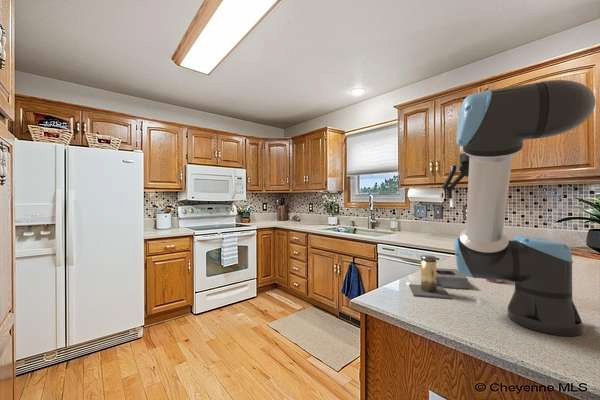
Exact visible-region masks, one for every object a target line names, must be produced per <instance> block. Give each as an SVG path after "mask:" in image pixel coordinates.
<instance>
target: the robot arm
mask: <svg viewBox="0 0 600 400" xmlns="http://www.w3.org/2000/svg"><path fill="white" fill-rule="evenodd" d="M595 107H596V97H595V94H594V92H593V91H592V90H591V88H590V87H589V86H587V85H585V84H583V83H581V82H577V81H573V80H568V79H567V80H566V79H554V80H553V79H551V80H543V81H539V82H534V83H528V84H519V85H514V86H507V87H501V88H494V89H487V90H485V91H481V92H476V93H471V94H469V95H467V96H466V97H465V98H464V99H463V101H462V103H461V106H460V111H459V115H458V119H457V125H456V126H457V127H456V136H455V137H456V139H455V141H456V144H457V146H459V153H460V154H459V165H455V164H454V165H451V166H450V172H449V173H448V176H447V178H446V179H445V180H444V183H443V184H442V190H446V191H447V199H448V200H449V205H450V208H455V207H456V206H455V190H453V189H454V188H455V187H456V186H457V185H458V184H459V183H460V182H461V181H462V180H463V178H464V177H466V178H467V179H468V180H467V181H468V183H467V199H466V201H467V203H466V204H467V205H466V219H465V220H466V221H465V222H466V223H465V228H464V229H463V230H462V231H461V232H460V234H459V237H454V238H453V247H454V253H455V254H454V255H455V262H456V267H457V268H456V269H457V270H458V272H459V273H460V274H461V275H462V276H465V277H466V278H471V279H480V280H481V279H482V280H484V279H485V280H486V279H492V280H502V282H504V281H505V282H514V291H513V294H512V296H511V298H510V301H509V303H508V306H507V317H508V318H509V319H510V320H511V321H513V322H514V323H516V324H518V325H520V326H523V327H525V328H527V329H530V330H534V331H537V332H539V333H544V334H549V335H555V336H560V337H561V336H562V337H577V336H578V337H579V336H580V335H582V334H583V332H584V327H583V326H584V325H583V321H582V319H581V316H580V314H579V311H578V310H577V307H576V305H575V302H574V300H573V264H574V261H573V257H572V256H573V255H572V250H571V247H570V246H569V245H568V244H567V243H564V242H561V241H558V240H552V239H547V238H541V237H535V236H534V237H533V236H527V235H514V237H513V238H512V240H509V238H508V237H507V235H506V234H505V233H504V226H505V218H506V213H507V211H506V210H507V202H508V196H509V189H510V188H509V187H510V181H511V174H512V172H511V171H512V164H513V157H514V156H515V155H517V154H519V153H520V152H521V151H522V150H523V146H524V141H527V140H534V139H545V138H549V137H555V136H557V135H558V136H559V135H561V134H565V133H567V132H569V131H572V130H574V129H575V128H577V127H579V126H580V125H582V124H583V123H585V122H586V121H587V120H588V119H590V116H591V115H592V114H593V112H594V109H595ZM458 170H459V171H460V173H459V174H458V176H457V177H456V178H455V179H454V180H453V178H454V176H455V174H456V172H457V171H458ZM452 180H453V181H452ZM450 183H451V184H450Z"/></svg>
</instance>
